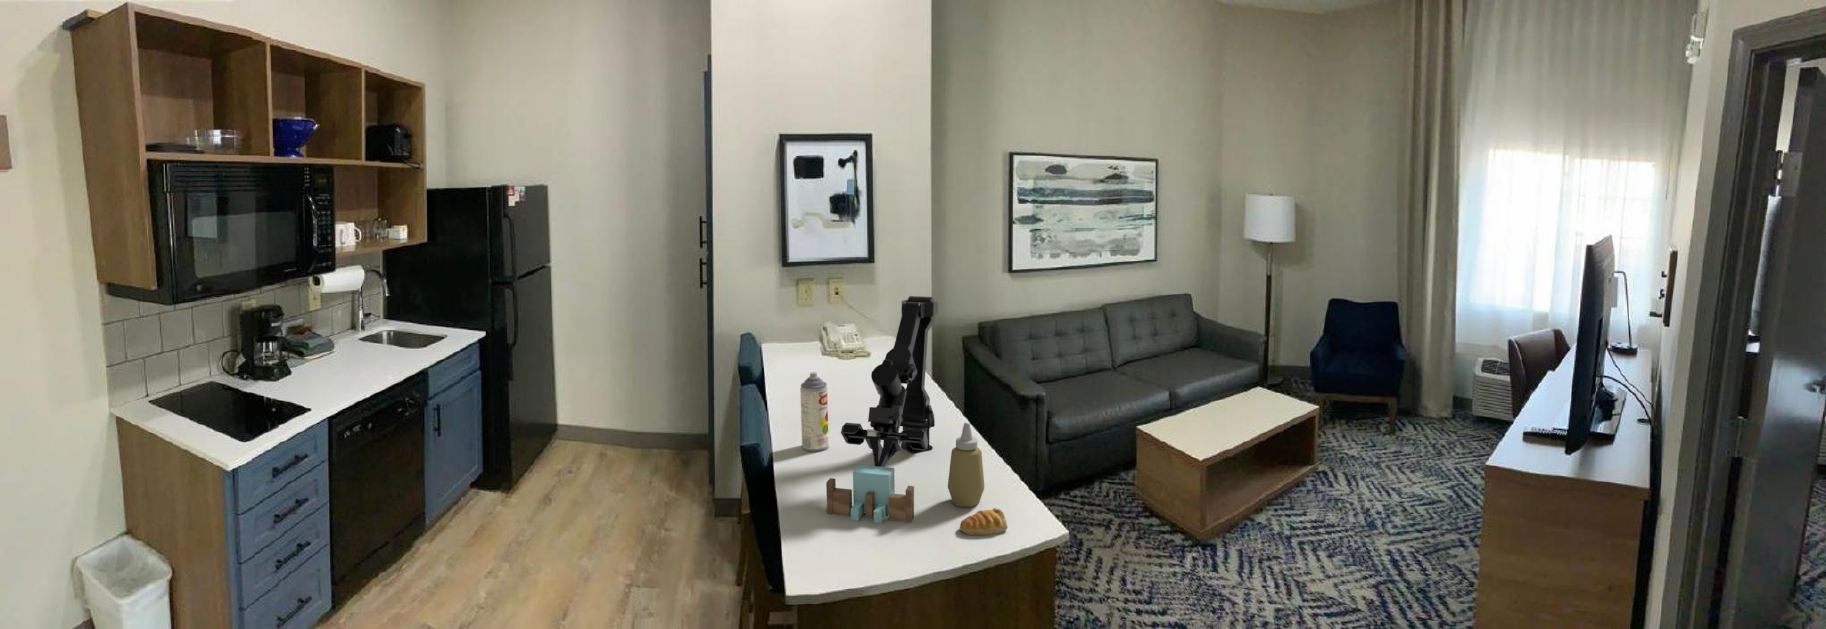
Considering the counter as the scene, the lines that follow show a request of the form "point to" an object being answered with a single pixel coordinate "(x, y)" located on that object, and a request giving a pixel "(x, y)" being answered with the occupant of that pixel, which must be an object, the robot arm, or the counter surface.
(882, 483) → the pale blue brick
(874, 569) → the counter surface
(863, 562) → the counter surface
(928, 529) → the counter surface
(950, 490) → the squeeze bottle
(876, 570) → the counter surface
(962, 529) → the pastry
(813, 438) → the aerosol can
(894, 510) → the rail
